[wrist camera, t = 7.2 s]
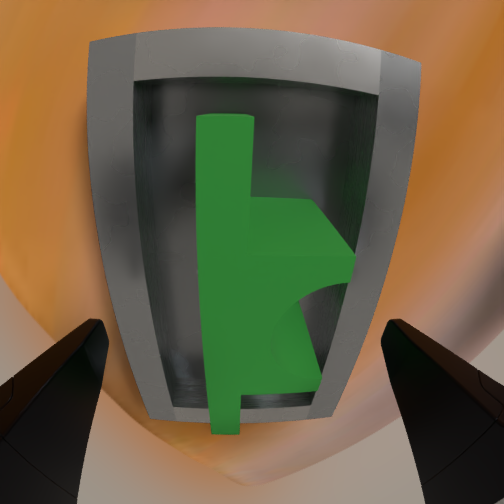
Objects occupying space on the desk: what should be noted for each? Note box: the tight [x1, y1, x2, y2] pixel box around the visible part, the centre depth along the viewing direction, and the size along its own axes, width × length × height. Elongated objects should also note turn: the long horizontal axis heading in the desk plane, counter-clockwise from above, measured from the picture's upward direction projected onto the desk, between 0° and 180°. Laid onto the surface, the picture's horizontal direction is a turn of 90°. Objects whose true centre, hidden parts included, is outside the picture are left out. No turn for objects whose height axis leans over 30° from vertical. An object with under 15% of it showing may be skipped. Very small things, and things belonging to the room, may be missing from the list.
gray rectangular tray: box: [87, 27, 421, 423], centre depth 11 cm, size 10×17×3 cm, turn 177°
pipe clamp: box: [196, 113, 356, 435], centre depth 10 cm, size 11×4×5 cm, turn 177°
